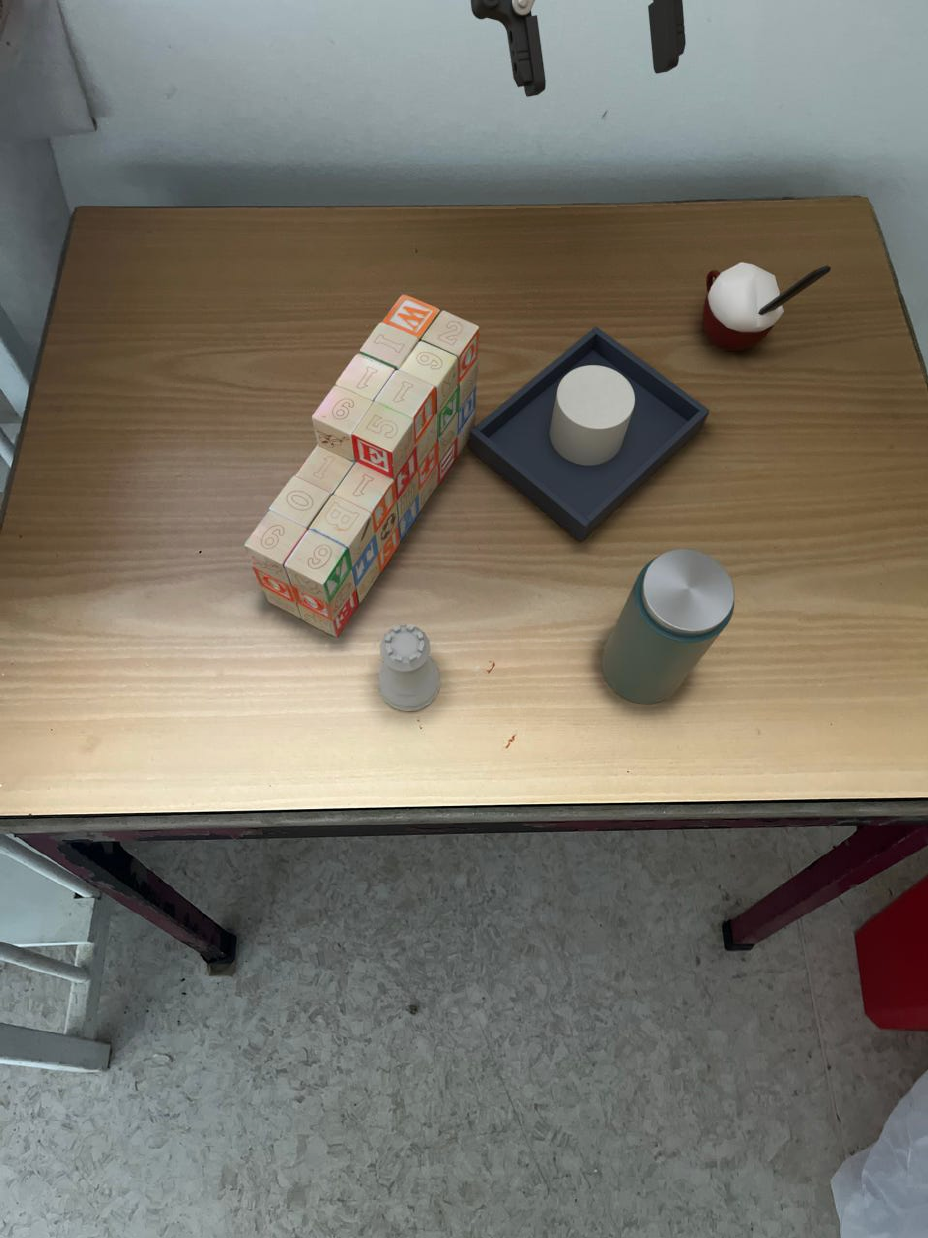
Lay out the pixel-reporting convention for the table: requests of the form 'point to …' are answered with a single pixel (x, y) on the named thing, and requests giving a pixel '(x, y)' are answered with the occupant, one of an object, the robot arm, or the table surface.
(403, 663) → the rook chess piece
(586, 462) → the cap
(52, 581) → the table surface
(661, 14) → the robot arm
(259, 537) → the stack of blocks
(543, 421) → the tray
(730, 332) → the cocoa
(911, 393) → the table surface
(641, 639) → the green metal cylinder
